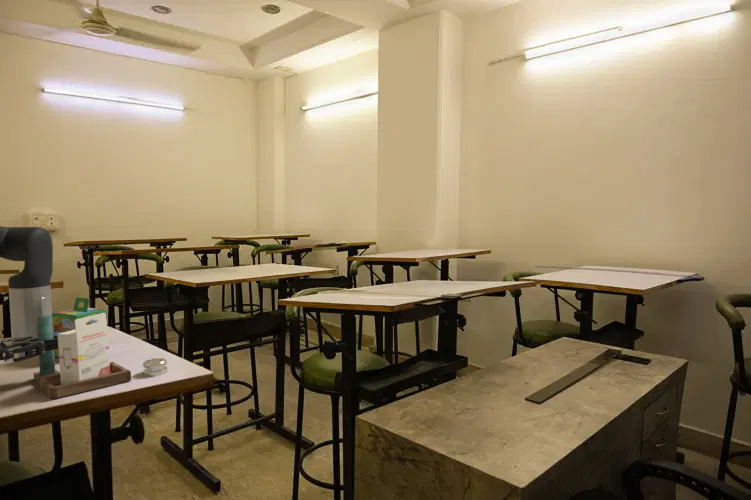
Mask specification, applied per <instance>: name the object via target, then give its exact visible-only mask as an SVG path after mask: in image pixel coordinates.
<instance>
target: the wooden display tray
mask: <svg viewBox="0 0 751 500" xmlns="http://www.w3.org/2000/svg"><path fill="white" fill-rule="evenodd" d="M37 330H38V341H40V340H42V341H44V340H50V339H54V338H53V319H52V316H50V315H49V316H40V317H37ZM55 358H56V357H54V350H49V351H44V353H43V355H40V356H38V363H39V365H38V366H39V371H36V372H33V373H32V374H33V375H32V377H33V380H35V381H37V387H38V388H39V389H40V390H41V391H42V392H43V393H45V394H46V395H47V396H48V397H49V398H50V399H52V400H55V399H59V398H63V397H68V396H71V395H76V394H79V393H83V392H89V391H93V390H96V389H97V390H98V389H101V388H104V387H110V386H113V385H117V384H122V383H126V382H130V381H132V374H131V373H132V372H131V370H129V369H127V368H125V367H123V366H122V365H120V364H117V363H116V362H114V361H111V362H110V374H107V375H103V376H98V377H94V378H89V379H85V380H81V381H76V382H71V383H67V384H62V385H61V378H60V371H59V370H58V369H56V362H55V361H56V360H55Z"/></svg>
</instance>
